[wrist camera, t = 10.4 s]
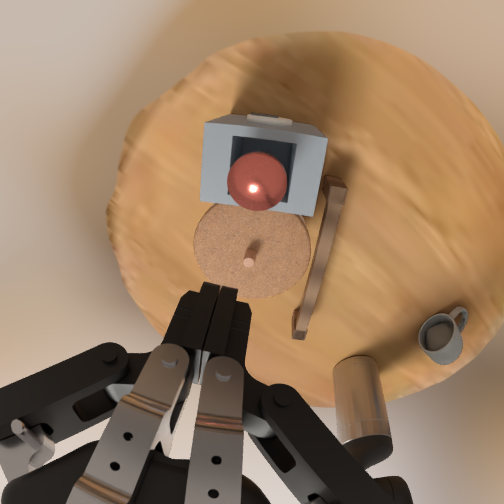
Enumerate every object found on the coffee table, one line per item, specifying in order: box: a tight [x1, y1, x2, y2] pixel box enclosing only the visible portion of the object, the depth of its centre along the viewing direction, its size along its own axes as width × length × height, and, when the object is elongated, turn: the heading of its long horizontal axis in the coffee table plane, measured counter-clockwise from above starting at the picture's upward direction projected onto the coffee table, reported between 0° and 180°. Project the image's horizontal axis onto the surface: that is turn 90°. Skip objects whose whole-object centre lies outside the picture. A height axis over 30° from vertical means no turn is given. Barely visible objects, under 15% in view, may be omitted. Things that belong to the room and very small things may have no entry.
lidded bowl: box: [194, 203, 311, 299], centre depth 34 cm, size 13×13×11 cm
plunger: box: [227, 149, 287, 211], centre depth 23 cm, size 4×4×6 cm
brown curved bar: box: [292, 175, 347, 340], centre depth 39 cm, size 24×2×4 cm, turn 174°
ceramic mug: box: [418, 306, 468, 365], centre depth 42 cm, size 11×8×8 cm
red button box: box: [200, 113, 328, 217], centre depth 29 cm, size 8×10×12 cm
